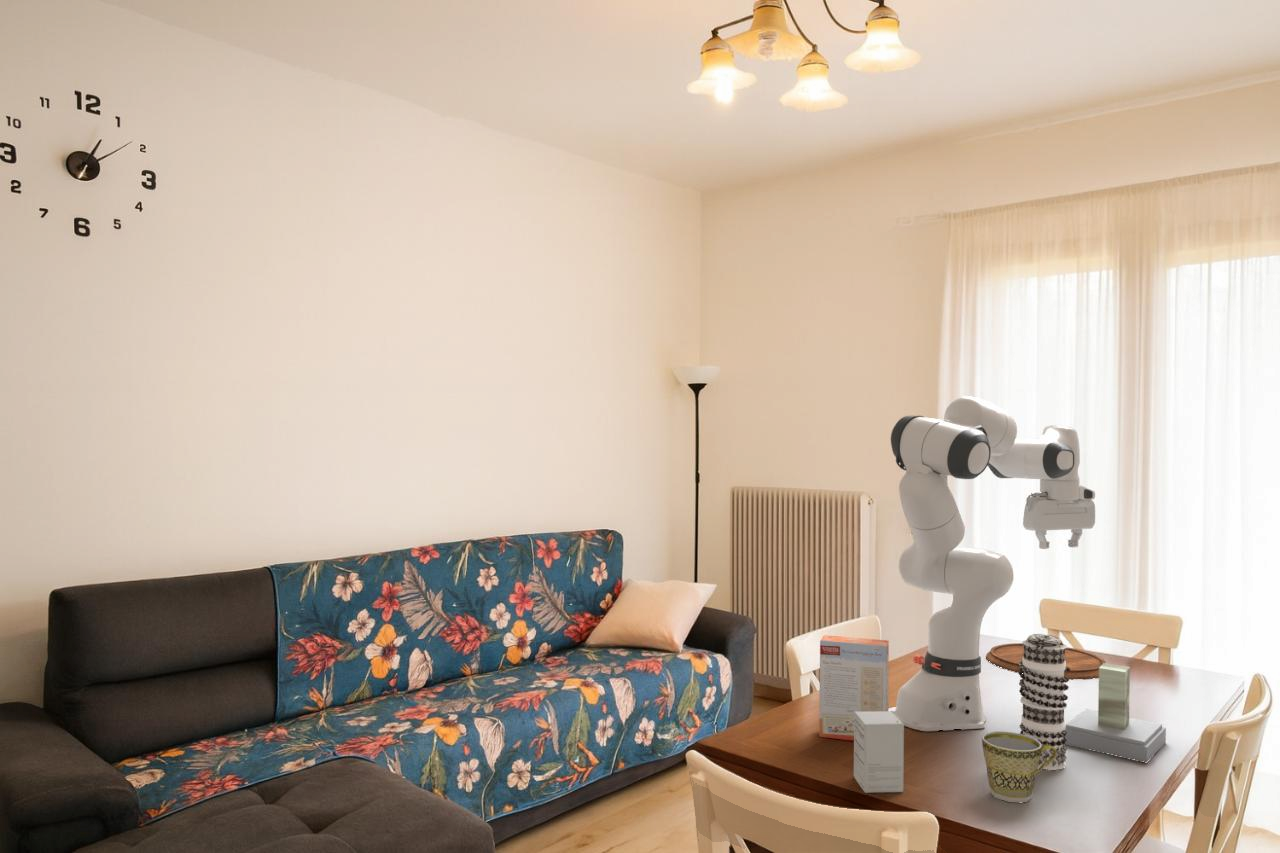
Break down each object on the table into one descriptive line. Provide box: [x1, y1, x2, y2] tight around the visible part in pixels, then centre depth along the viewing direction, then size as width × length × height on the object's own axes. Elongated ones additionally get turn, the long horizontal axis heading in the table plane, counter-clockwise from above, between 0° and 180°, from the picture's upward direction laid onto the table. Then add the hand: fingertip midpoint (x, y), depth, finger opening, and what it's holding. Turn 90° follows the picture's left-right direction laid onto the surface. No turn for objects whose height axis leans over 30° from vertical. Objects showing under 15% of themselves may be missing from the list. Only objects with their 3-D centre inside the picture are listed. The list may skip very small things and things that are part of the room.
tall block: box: [1097, 662, 1131, 730], centre depth 188 cm, size 5×5×12 cm
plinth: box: [1064, 708, 1167, 762], centre depth 188 cm, size 16×16×4 cm
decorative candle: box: [1018, 633, 1070, 771], centre depth 177 cm, size 9×9×25 cm
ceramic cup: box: [981, 730, 1057, 804], centre depth 161 cm, size 13×10×10 cm
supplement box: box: [853, 711, 905, 794], centre depth 165 cm, size 7×7×13 cm
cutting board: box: [985, 642, 1107, 681], centre depth 253 cm, size 32×32×2 cm
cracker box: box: [818, 634, 890, 742], centre depth 190 cm, size 14×6×21 cm, turn 70°
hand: (1058, 547), depth 220 cm, fingers open, 8 cm apart
